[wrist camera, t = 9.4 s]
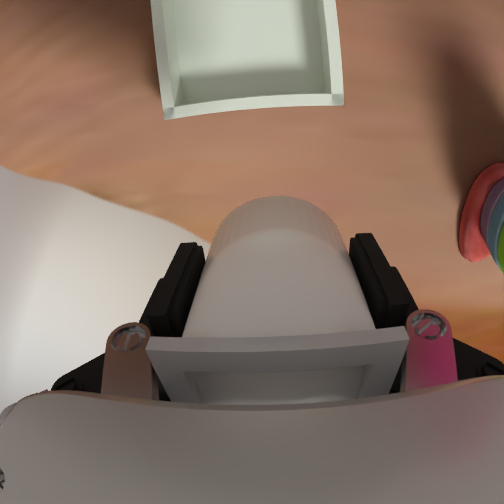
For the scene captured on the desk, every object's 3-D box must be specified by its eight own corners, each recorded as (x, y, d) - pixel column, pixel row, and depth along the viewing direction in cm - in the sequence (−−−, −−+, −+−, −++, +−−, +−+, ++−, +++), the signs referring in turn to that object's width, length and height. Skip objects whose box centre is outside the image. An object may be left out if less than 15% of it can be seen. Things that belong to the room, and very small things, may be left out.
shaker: (346, 192, 11) (422, 329, 5) (339, 306, 13) (368, 447, 7) (200, 201, 11) (132, 341, 5) (221, 311, 14) (195, 452, 8)
